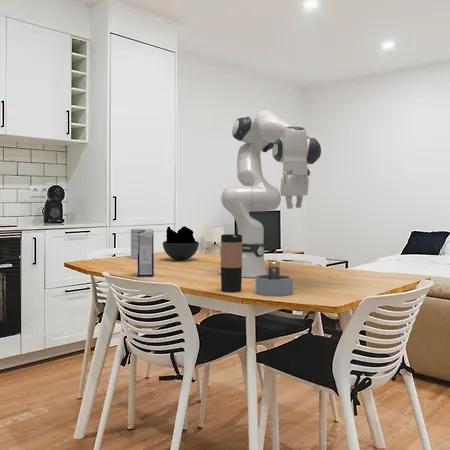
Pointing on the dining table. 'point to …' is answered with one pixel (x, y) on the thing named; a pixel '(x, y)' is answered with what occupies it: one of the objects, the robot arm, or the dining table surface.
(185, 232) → the coal bowl
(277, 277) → the battery cell
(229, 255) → the travel mug
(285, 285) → the cup
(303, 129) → the robot arm
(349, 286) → the dining table surface
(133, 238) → the supplement box
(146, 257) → the milk carton
